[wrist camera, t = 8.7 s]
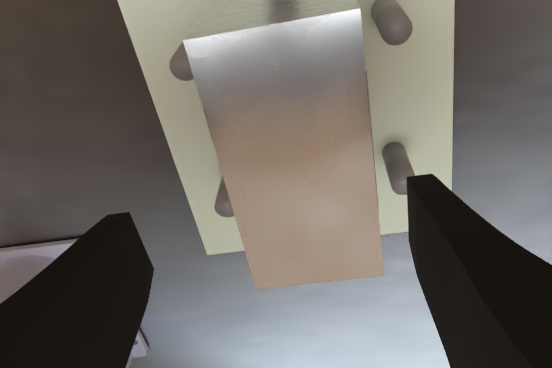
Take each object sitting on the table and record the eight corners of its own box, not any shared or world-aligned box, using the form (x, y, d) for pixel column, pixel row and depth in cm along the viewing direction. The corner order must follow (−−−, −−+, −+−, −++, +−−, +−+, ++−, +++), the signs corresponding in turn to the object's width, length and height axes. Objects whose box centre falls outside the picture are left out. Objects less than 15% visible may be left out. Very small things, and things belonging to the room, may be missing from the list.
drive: (366, 179, 21) (387, 275, 16) (265, 193, 22) (256, 289, 17) (344, -35, 17) (364, 7, 12) (216, -10, 17) (183, 40, 12)
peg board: (445, 213, 23) (466, 262, 21) (210, 242, 25) (198, 291, 22) (448, -153, 15) (483, -158, 12) (101, -77, 17) (60, -65, 14)
